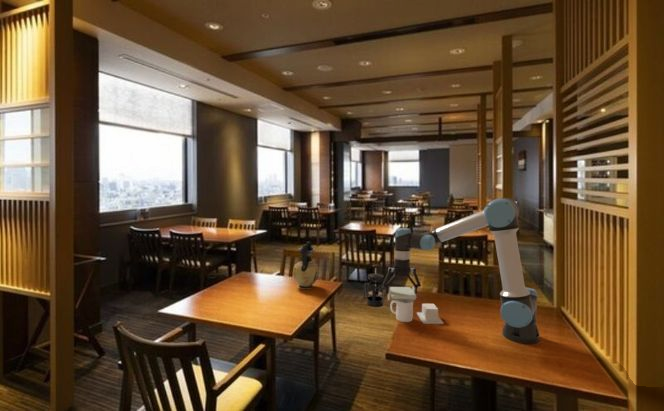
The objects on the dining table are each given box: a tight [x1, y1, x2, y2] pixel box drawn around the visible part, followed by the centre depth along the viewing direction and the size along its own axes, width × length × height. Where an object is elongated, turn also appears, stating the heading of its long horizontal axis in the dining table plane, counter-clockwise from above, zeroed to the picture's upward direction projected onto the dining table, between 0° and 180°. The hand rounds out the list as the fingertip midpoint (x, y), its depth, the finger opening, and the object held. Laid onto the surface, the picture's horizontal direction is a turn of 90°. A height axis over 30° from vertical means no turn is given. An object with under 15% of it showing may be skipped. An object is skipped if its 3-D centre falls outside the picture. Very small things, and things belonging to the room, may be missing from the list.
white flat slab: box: [390, 286, 417, 300], centre depth 183 cm, size 14×12×2 cm
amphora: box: [292, 240, 320, 290], centre depth 234 cm, size 18×17×30 cm
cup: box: [389, 299, 414, 323], centre depth 183 cm, size 8×12×10 cm
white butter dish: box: [416, 303, 444, 325], centre depth 184 cm, size 14×10×6 cm
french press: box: [363, 264, 384, 308], centre depth 204 cm, size 12×9×23 cm
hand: (401, 299), depth 183 cm, fingers closed on white flat slab, 12 cm apart
